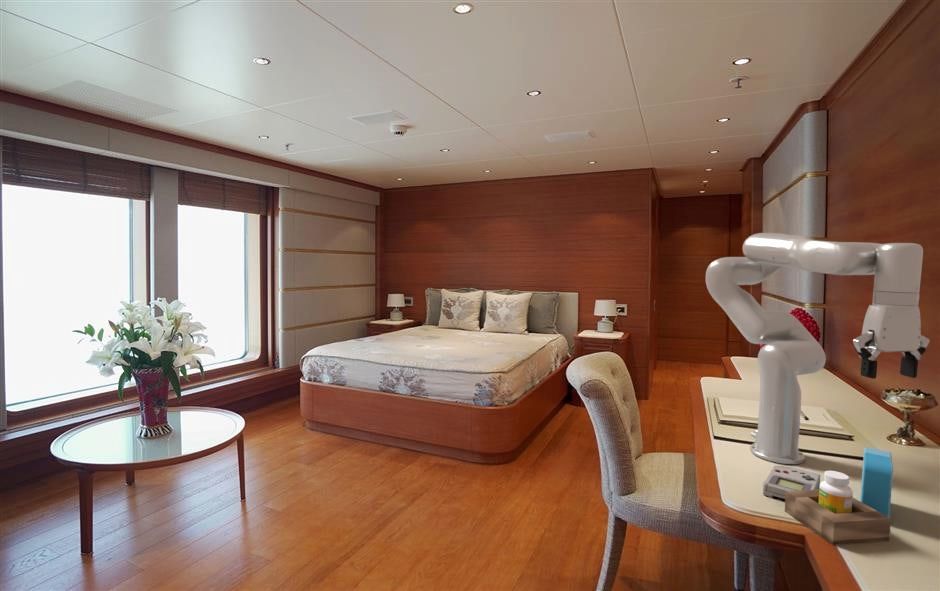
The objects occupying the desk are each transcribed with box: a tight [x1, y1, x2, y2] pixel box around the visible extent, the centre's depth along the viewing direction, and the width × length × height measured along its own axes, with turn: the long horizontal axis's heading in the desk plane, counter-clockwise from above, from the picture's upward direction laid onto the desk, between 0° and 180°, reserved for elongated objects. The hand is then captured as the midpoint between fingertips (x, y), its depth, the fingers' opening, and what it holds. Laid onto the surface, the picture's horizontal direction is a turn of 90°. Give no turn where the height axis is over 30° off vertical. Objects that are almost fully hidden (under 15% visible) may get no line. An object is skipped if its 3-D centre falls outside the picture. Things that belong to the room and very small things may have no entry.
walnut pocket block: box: [784, 488, 892, 546], centre depth 98 cm, size 12×12×4 cm
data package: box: [860, 446, 894, 518], centre depth 104 cm, size 12×4×12 cm, turn 141°
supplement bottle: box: [818, 470, 854, 514], centre depth 98 cm, size 5×5×10 cm
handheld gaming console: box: [762, 465, 821, 500], centre depth 113 cm, size 9×4×15 cm
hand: (888, 376), depth 107 cm, fingers open, 9 cm apart
